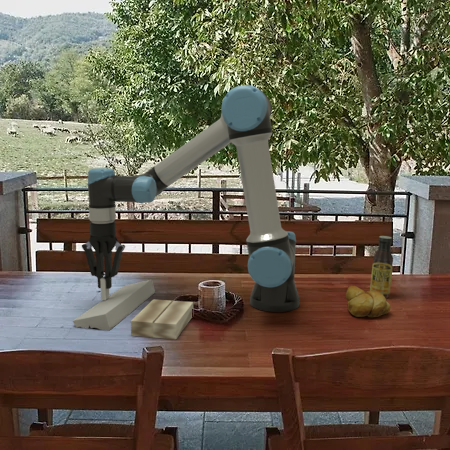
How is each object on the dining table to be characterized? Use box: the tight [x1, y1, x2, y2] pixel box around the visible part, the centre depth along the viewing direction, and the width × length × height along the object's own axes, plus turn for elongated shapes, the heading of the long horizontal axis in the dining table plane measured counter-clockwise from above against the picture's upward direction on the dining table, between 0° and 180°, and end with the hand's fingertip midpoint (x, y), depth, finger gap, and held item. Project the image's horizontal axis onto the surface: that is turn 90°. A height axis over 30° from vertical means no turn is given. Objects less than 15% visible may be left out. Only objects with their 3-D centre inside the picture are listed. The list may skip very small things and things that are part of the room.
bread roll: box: [345, 284, 391, 318], centre depth 149 cm, size 13×10×8 cm
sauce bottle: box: [369, 235, 394, 299], centre depth 164 cm, size 7×6×20 cm
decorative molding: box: [72, 279, 156, 331], centre depth 152 cm, size 34×5×10 cm
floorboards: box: [130, 299, 194, 340], centre depth 139 cm, size 12×18×4 cm, turn 169°
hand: (105, 298), depth 154 cm, fingers closed
